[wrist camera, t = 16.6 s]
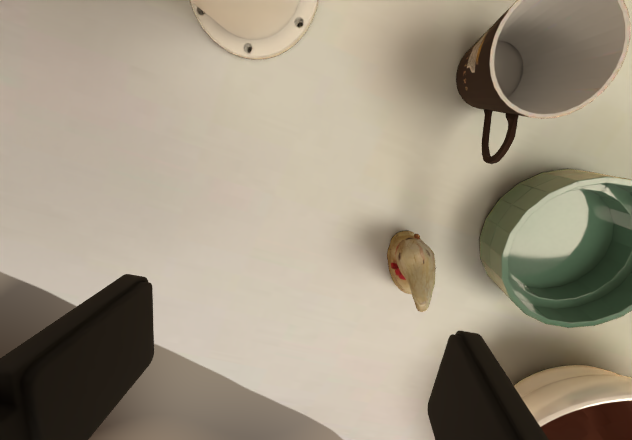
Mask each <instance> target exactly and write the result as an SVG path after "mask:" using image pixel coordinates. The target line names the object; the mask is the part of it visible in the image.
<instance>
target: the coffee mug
mask: <svg viewBox="0 0 632 440" xmlns="http://www.w3.org/2000/svg"><path fill="white" fill-rule="evenodd" d="M629 41H630V19H629V14H628V9H627V7H626V5H625V3H624V0H517V1H516V2H515V3H514V4H513V5H512V6H511V7H510V8H509V9H508V10H507V11H506V12H505V13H504V14H503V15H502V16H501V17H500V18H499V19H498V20H497V21H496V23H495V24H494V25H493V26H492V27H491V28H490V29H489V30H488V31H487V32H486V33H485V34H484V35H483V36H482V37H481V38H480V39H479V40H478V41H477V42H476V43H475V44H474V45H473V46H472V47H471V48H470V49H469V50H468V51H467V52H466V53H465V55H464V56H463V58H462V60H461V62H460V64H459V66H458V70H457V74H456V83H457V89H458V91H459V94H460V95H461V97H462V99H463V100H464V101H465V102H466V103H468V104H469V105H471V106H473V107H476V108H479V109H484V113H485V119H484V128H483V137H482V156H483V160H484V161H485V162H486V163H490V164H493V163H497V162H499V161H500V160H501V159H502V158H503V156H504V155H505V154H506V152H507V151H508V149H509V147H510V146H511V144H512V142H513V140H514V137H515V133H516V128H517V119H518V115H521V116H527V117H533V118H541V119H543V118H556V117H560V116H564V115H568V114H570V113H572V112H574V111H577V110H579V109H581V108H583V107H584V106H586V105H587V104H589V103H590V102H592V101H593V100H594V99H595V98H597V97H598V96H599V95H600V94H601V93H602V92H603V91H604V90H605V89H606V88H607V87H608V85H609V84H610V83H611V82H612V81H613V79H614V78H615V76H616V75H617V73H618V71H619V70H620V68H621V66H622V64H623V61H624V59H625V56H626V54H627V50H628V46H629ZM492 111H497V112H503V113H506V118H507V120H508V131H507V134H506V138H505V140H504V143H503V144H502V146H501V148H500V149H499V150H498V152H497V153H496V154H495V155H493V156H492V157H491V156H490V152H489V146H488V143H489V133H490V124H491V115H492Z"/></svg>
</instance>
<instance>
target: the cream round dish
mask: <svg viewBox="0 0 632 440" xmlns="http://www.w3.org/2000/svg"><path fill="white" fill-rule="evenodd" d="M514 387H515V389H516V390H517V392H518V393H519V395H520V396H521V398H522V399H523V401H524V403H525V404H526V406H527V407H528V409H529V410H530V412H531V413H532V415H533V416H534V418H535V419H536V421H537V422H538V424H539V425H540V427H541V429H542V430H543V432H544V433H545V435H546V436H547V438H548V439H549V440H632V377H628V376H622V375H620V374H617V373H614V372H611V371H608V370H605V369H601V368H597V367H592V366H583V365H569V366H560V367H554V368H550V369H546V370H543V371H540V372H537V373H535V374H533V375H530V376H528V377H527V378H525V379H523V380H521V381H520V382H518V383H517V384H516V385H514Z"/></svg>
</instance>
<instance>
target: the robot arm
mask: <svg viewBox="0 0 632 440" xmlns="http://www.w3.org/2000/svg"><path fill="white" fill-rule="evenodd" d="M318 1H319V0H190V2H191V5H192V8H193V10H194V13H195V15H196V18H197V19H198V21H199V23H200V24H201V26H202V28H203V29H204V30H205V32H206V33H207V34H208V35H209V36H210V37H211V39H212V40H214V41H215V42H216V43H217V44H218V45H220V46H221V47H222V48H224V49H225V50H227V51H229V52H230V53H232V54H235V55H237V56H240V57H243V58H248V59H267V58H271V57H275V56H277V55H279V54H281V53H284V52H286V51H287V50H289V49H290V48H291V47H292V46H294V45H295V44H296V43H297V42H298V41H299V40H300V39H301V38H302V36H303V35H304V34H305V33H306V31H307V29H308V28H309V26H310V24H311V23H312V20H313V18H314V15H315V13H316V10H317V6H318ZM203 11H204V12H205V14H204V15H203ZM299 23H302V24H303V25H302V27H300V28H299V27H298V24H299ZM249 48H252V51H251V52H248V49H249ZM153 355H154V335H153V297H152V285H151V283H149V282H148V280H147V278H145V277H142V276H136V275H130V274H125V275H123V276H122V277H120V278H119V279H117V280H116V281H114V282H113V283H111V284H110V285H108V286H107V287H105V288H104V289H102V290H101V291H100V292H98V293H97V294H95V295H94V296H92V297H91V298H89V299H88V300H86V301H85V302H83V303H82V304H80V305H79V306H77V307H76V308H74V309H73V310H71V311H70V312H68V313H67V314H65V315H64V316H63V317H61V318H60V319H58V320H57V321H55V322H54V323H52V324H51V325H49V326H48V327H46V328H45V329H43V330H42V331H40V332H39V333H38V334H36V335H34V336H33V337H32V338H30V339H28V340H27V341H25V342H24V343H23V344H21V345H20V346H18V347H17V348H15V349H14V350H12V351H11V352H9V353H8V354H6V355H5V356H3V357H2V358H0V440H88V439H89V438H90V437H91V436H92V434H93V433H94V432H95V431H96V429H97V428H98V427H99V426H100V425H101V423H102V422H103V421H104V419H105V418H106V417H107V416H108V415H109V414H110V412H111V411H112V410H113V409H114V407H115V406H116V405H117V404H118V402H119V401H120V400H121V399H122V398H123V396H124V395H125V394H126V393H127V391H128V390H129V389H130V388H131V387H132V385H133V384H134V383H135V381H136V380H137V379H138V378H139V377H140V376H141V374H142V373H143V372H144V370H145V369H146V368H147V367H148V366H149V364H150V363H151V361H152V358H153ZM428 415H429V419H430V423H431V426H432V429H433V433H434V436H435V440H549V439H548V438H547V436H546V435H545V433H544V432H543V430H542V429H541V427H540V425H539V424H538V422H537V421H536V419H535V418H534V416H533V415H532V413H531V412H530V410H529V409H528V407H527V406H526V404H525V403H524V401H523V399H522V398H521V396H520V395H519V393H518V392H517V390H516V389H515V387H514V386H513V384H512V383H511V381H510V380H509V378H508V376H507V375H506V373H505V372H504V370H503V369H502V367H501V366H500V364H499V363H498V361H497V360H496V358H495V357H494V355H493V354H492V352H491V350H490V349H489V347H488V346H487V344H486V343H485V341H484V340H483V338H482V337H481V336H480V335H479V334H476V333H470V332H464V331H457V333H456V334H455V335H453V334H452V335H451V336H450V337H449V339H448V343H447V346H446V349H445V352H444V355H443V358H442V361H441V364H440V368H439V371H438V374H437V377H436V380H435V383H434V386H433V389H432V392H431V396H430V399H429V402H428Z"/></svg>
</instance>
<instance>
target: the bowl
mask: <svg viewBox="0 0 632 440" xmlns="http://www.w3.org/2000/svg"><path fill="white" fill-rule="evenodd" d="M480 259H481V261H482V264H483V266H484V268H485V271H486V273H487V275H488V276H489V277H490V278H491V279H492V280H493V282H494V283H495V284H496V285H497V286H498V287H499V288H500V289H501V290H502V291H503V292H504V293H505V294H506V295H507V296H508V297H509V298H510V299H511V300H512V301H513V302H514V303H515V304H516V305H517V306H518V307H519V308H520V309H521V310H522V311H523V313H525V314H526V315H528V316H530V317H533V318H535V319H537V320H539V321H541V322H543V323H545V324H549V325H555V326H561V327H567V328H573V327H584V326H595V325H599V324H602V323H605V322H608V321H611V320H614V319H617V318H620V317H621V316H624V315H625V314H627V313H629V312H630V311H632V179H626V178H621V177H616V176H610V175H605V174H599V173H594V172H588V171H581V170H574V169H563V170H556V171H549V172H543V173H541V174H538V175H536V176H534V177H532V178H529V179H527V180H525V181H523V182H520V183H519V184H517V185H516V186H515V187H514V188H513V189H511V190H510V191H509V192H508V193H506V194H505V195H504V196H503V197H501V198H500V199H499V200H498V202H497V203H496V205H495V206H494V208H493V209H492V210H491V212H490V213H489V215H488V216H487V218H486V220H485V223H484V226H483V229H482V232H481V235H480Z"/></svg>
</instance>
